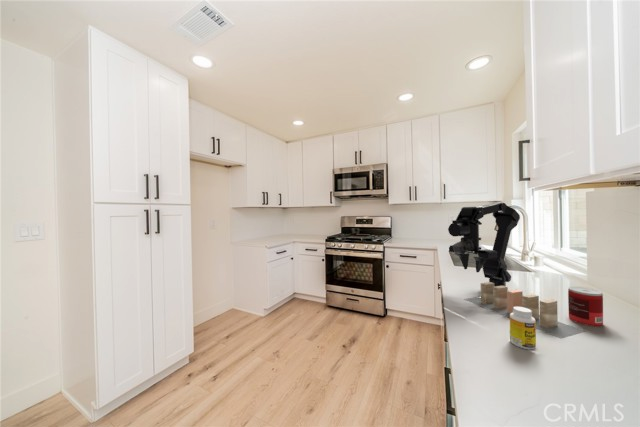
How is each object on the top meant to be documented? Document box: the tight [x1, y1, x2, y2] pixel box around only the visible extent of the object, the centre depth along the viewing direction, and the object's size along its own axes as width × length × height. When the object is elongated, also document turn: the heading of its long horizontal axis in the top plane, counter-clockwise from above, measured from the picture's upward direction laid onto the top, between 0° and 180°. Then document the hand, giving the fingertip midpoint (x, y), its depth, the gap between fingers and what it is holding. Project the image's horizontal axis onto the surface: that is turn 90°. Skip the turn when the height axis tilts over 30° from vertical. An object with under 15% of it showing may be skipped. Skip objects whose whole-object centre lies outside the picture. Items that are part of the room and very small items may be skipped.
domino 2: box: [493, 285, 509, 309], centre depth 89 cm, size 2×5×8 cm, turn 107°
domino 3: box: [507, 289, 524, 314], centre depth 84 cm, size 2×5×8 cm, turn 107°
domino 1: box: [480, 281, 494, 304], centre depth 94 cm, size 2×5×8 cm, turn 107°
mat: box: [463, 296, 586, 339], centre depth 84 cm, size 12×32×1 cm, turn 17°
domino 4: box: [522, 293, 540, 320], centre depth 80 cm, size 2×5×8 cm, turn 107°
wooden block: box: [539, 298, 559, 328], centre depth 75 cm, size 2×5×8 cm, turn 107°
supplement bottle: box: [509, 307, 537, 350], centre depth 65 cm, size 6×6×10 cm
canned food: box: [567, 286, 604, 327], centre depth 77 cm, size 8×8×11 cm
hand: (471, 270), depth 100 cm, fingers open, 5 cm apart
